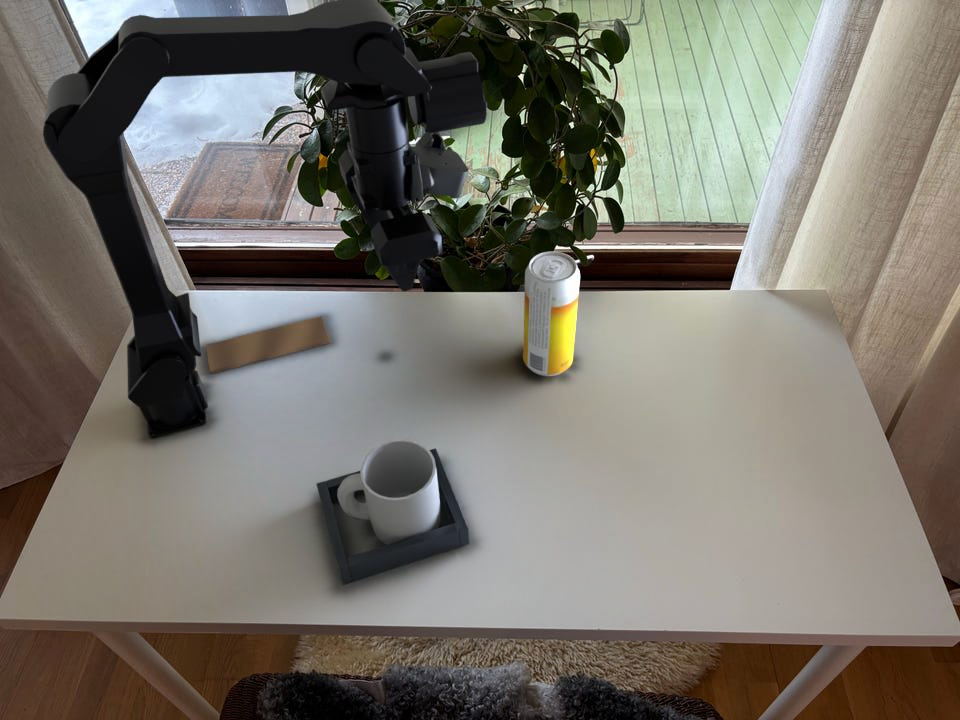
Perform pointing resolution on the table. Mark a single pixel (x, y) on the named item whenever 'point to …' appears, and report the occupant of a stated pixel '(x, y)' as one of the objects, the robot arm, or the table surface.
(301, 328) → the cork mat
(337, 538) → the rectangular frame
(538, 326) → the beer can
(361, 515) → the cup
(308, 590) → the table surface
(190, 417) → the robot arm
